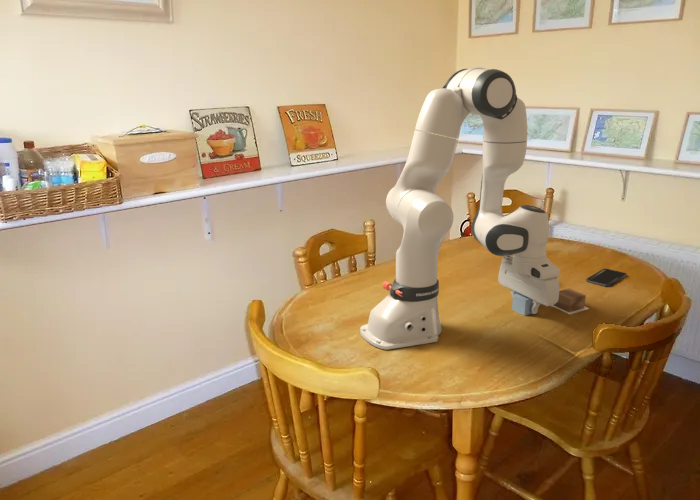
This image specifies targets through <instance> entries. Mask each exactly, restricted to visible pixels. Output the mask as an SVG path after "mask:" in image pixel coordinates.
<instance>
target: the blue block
mask: <svg viewBox="0 0 700 500" xmlns="http://www.w3.org/2000/svg"><path fill="white" fill-rule="evenodd" d="M511 303H512V305H511V310H512V311H514V312H516V313H518V314H520V315H522V316H524V317H525V316H528V315H533V314H532V313H530V312H529V307H531V306H533V304H534V303H533V299H530V298H528V297H526V296H524V295H522V294H520V293H516V294H513V297H512V302H511ZM538 312H539V310H538V311H537V313H538Z"/></svg>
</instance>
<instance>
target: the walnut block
mask: <svg viewBox="0 0 700 500" xmlns="http://www.w3.org/2000/svg"><path fill="white" fill-rule="evenodd" d="M586 297H587V294H584V293H582V292H579V291H576V290H575V289H572V288H565V289H562V290H559V299H558V302H557V303H556V304H554V306H556V307H559V308H561V309H563V310H565V311H567V312H572V311H576V310H579V309H583V308H584V306H585V303H586ZM585 307H586V306H585Z"/></svg>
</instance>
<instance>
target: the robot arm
mask: <svg viewBox="0 0 700 500" xmlns="http://www.w3.org/2000/svg"><path fill="white" fill-rule="evenodd" d="M445 82H446V83H445V84H444V85H443V87H441V88H436V89H433V90H431V91H430V92H428V94H427V95H426V97H425V99H424V102H423V103H422V106H421V109H420V110H419V114H418V117H417V120H416V122H415V123H416V124H415V127H414V132H413V135H412V140H411V143H410V144H411V145H410V148H409V152H408V156H407V158H406V161H405V164H404V167H403V169H402V170H401V173H400V176H399V178H398V179H397V181H396V183H395V185H394V186H393V187H392V188H391V189H390V190H389V191H388V193H387V195H386V199H385V206H386V209H387V211H388V213H389V215H390V216H391V218H392V219H393V220H394V221H396V223H397V224H399V225H401V226H402V228H403V234H402V235H403V236H402V239H401V242H400V245H399V247H398V248H397V250H396V252H395V278H394V279H393V282H392V283H390V282H388V281H384V282H383V283H382V285H381V286H382V288H383V289H385V290H386V291H389V294H387V295H386V296H385V297H384V298H383V299H382V300H381V301H380V302H378V304H376V306H375V307H373V308H372V309H371V310H370V312H369V316H368V322H367V323H365V324H363V325H361V326H360V328H359V333H360V335H361V336H362V337H361V338H363V339H364V340H365V341H366V342H367V343H369V344H370V345H372V346H374V347H375V348H378V349H382V350H386V351H387V350H393V349H400V348H406V347H413V346H419V345H425V344H431V343H432V344H433V343H436V342H438V341H439V335H440V334H441V333H442V330H443V327H442V324H441V319H440V315H439V314H440V313H439V308H438V306H439V304H438V296H439V292H440V289H439V288H440V286H439V285H440V284H439V283H440V282H439V279H438V269H439V267H438V266H439V253H440V248H441V244H442V242H443V239H444V236H446V235H447V234H448V232H449V231H450V230H451V229H452V226H453V224H454V211H453V209H452V207H451V206H450V205H449V204H448V203H447V201H446V200H445V199H444V198H443V197H442V196H440V195H438V194H436V190H437V188H438V186H439V184H440V182H441V180H442V179H443V178H444V177H445V176H446V175H447V174H448V173H449V172H450V170H451V169H452V165H453V161H454V158H455V153H456V150H457V145H458V141H459V137H460V134H461V129H462V125H463V123H464V121H465V119H467V116H469V115H475V116H477V115H478V116H480V117H481V120H482V123H483V135H482V173H481V174H482V175H481V181H480V192H479V203H478V208H477V212H476V214H475V216H474V218H473V219H472V223H471V225H470V226H471V234H472V236H473V238H474V239H475V241H477V242H478V243H480V244H481V245H482V246H483V247H484V248H485V249H486V250H487V251H488V252H489V253H491V254H493V255H495V256H499V257H502V258H501V264H500V267H499V271H498V277H497V280H498V283H499V284H500V285H501V286H503V287H505V288H507V289H509V290H510V294H511V297H512V298H513V294H516V293H520V294H522V295H524V296H526V297H528V298H530V299H533V303H534V304H533V306H531V307H529V312H530V313H532V314H531V315H536V314H538V312H539V307H540V305H543V306H546V307H551V306H550V305H554V304H556V303H557V302H558V299H559V291H560V280H559V278H558V277H559V276H560V275H561V270H560V268H559V267H558V266H556V265H555V264H554V263H553V262H552V261H551V260H550V259H549V258H548V257H547V253H548V252H547V247H546V246H547V243H548V242H549V241H548V240H549V232H550V231H549V227H550V226H549V225H550V224H549V215H548V213H547V212H546V210H544V209H542V208H540V207H537V206H534V205H527V204H524V205H520V206H519V207H518V208H516V209H515V210H514V211H513V212H511V213H509V214H506V215H504V213H503V207H502V206H503V199H504V192H505V191H504V190H505V183H506V180H507V179H508V178H509V176H511V175H512V174H514V173H516V172H517V171H519V170H520V169H521V168H522V166H523V165H524V162H525V158H526V154H527V146H528V115H527V109H526V105H525V103H524V101H523V100H522V99H520V98H519V97H518V95H517V90H516V86H515V83H514V80H513V78H512V77H511V76H510V74H508V73H507V72H505V71H503V70H500V69H496V68H492V69H490V68H485V67H484V68H483V67H472V68H463V69H459V70H458V71H456V72H454V73H452V74H451V76H450V77H449V78H448V79H447V80H446V81H445ZM512 254H513V257H511V256H510V255H512ZM503 256H504V257H503ZM537 311H538V312H537Z"/></svg>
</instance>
